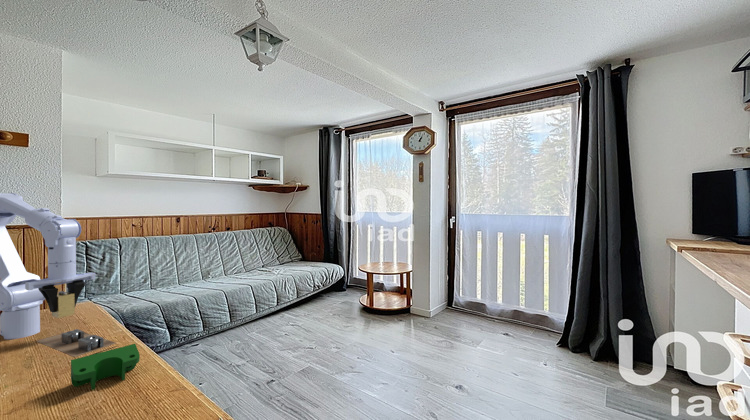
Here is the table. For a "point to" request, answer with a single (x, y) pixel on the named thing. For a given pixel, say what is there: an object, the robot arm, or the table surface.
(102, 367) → the clamp
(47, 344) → the board
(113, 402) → the table surface
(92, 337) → the steel ball guide
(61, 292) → the brushed brass block
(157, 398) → the table surface
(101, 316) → the table surface
